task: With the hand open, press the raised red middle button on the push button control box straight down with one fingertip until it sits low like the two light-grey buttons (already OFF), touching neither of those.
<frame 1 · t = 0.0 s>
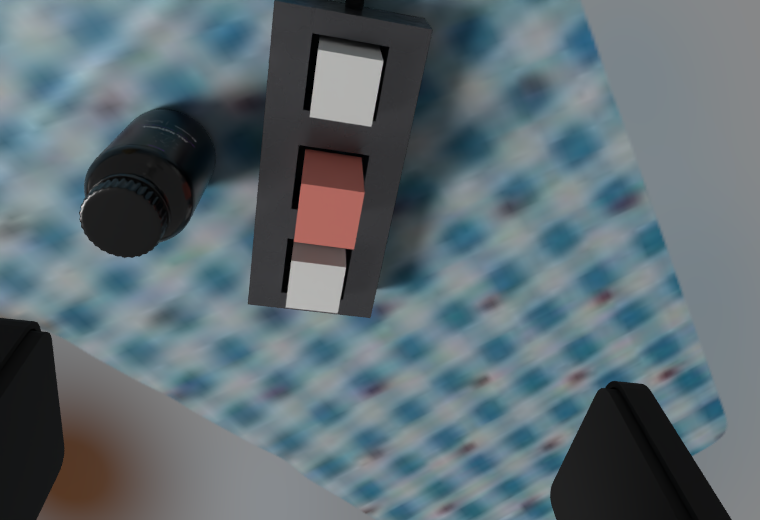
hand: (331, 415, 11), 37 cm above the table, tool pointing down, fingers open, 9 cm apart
button 2: (329, 197, 42), point 7 cm above the table, slide at 0.0 cm
push button control box: (330, 161, 47), on the table
button 3: (316, 266, 48), point 4 cm above the table, slide at 3.0 cm
button 1: (345, 77, 40), point 4 cm above the table, slide at 3.0 cm
supplement bottle: (171, 149, 46), on the table
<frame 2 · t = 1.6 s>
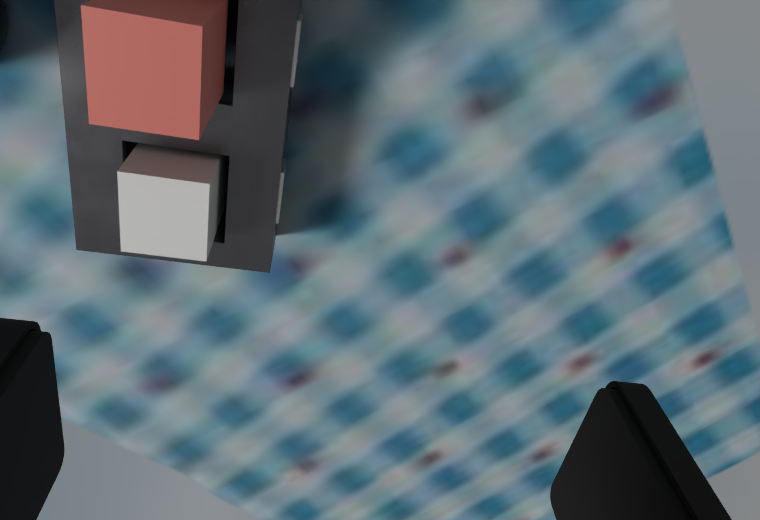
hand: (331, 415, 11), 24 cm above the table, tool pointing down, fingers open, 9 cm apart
button 2: (163, 55, 24), point 6 cm above the table, slide at 0.0 cm
push button control box: (195, 22, 30), on the table
button 3: (178, 190, 31), point 3 cm above the table, slide at 3.0 cm
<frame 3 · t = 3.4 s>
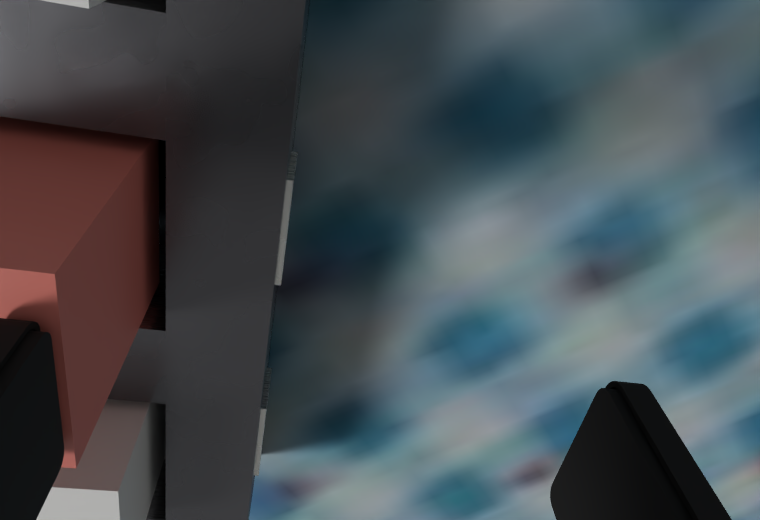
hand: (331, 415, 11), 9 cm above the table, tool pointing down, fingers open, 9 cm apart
button 2: (17, 267, 12), point 6 cm above the table, slide at 1.0 cm, touching gripper
push button control box: (107, 160, 17), on the table
button 3: (80, 445, 18), point 3 cm above the table, slide at 3.0 cm
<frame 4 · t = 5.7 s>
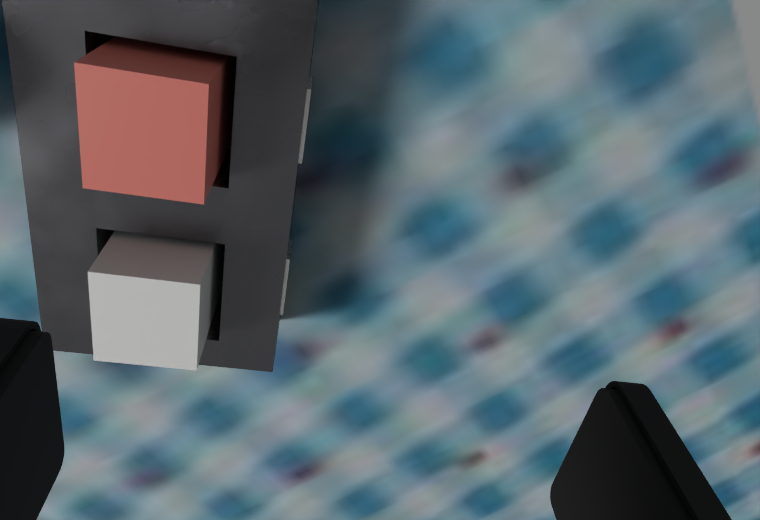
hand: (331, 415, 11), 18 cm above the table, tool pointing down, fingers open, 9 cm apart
button 2: (165, 110, 22), point 3 cm above the table, slide at 3.1 cm
push button control box: (185, 85, 25), on the table
button 3: (164, 281, 26), point 3 cm above the table, slide at 3.0 cm
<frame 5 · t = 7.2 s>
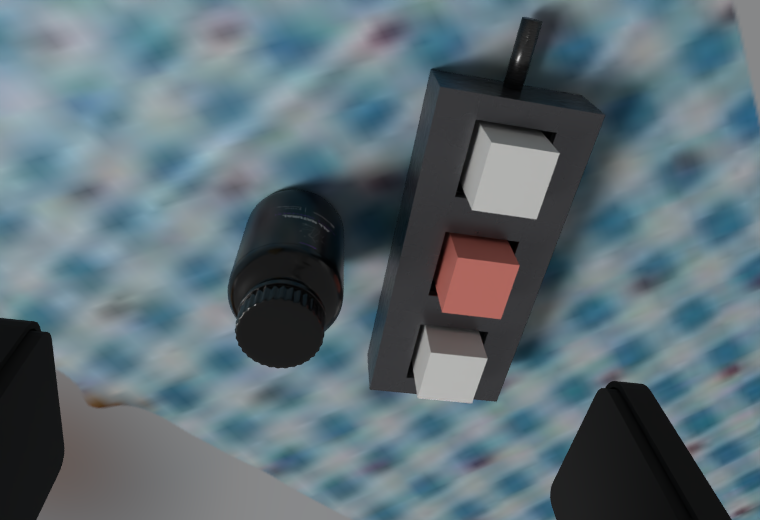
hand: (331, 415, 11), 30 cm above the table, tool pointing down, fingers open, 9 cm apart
button 2: (471, 264, 41), point 3 cm above the table, slide at 3.1 cm
push button control box: (462, 240, 44), on the table
button 3: (445, 350, 45), point 3 cm above the table, slide at 3.0 cm
button 1: (502, 162, 37), point 3 cm above the table, slide at 3.0 cm
supplement bottle: (295, 228, 43), on the table
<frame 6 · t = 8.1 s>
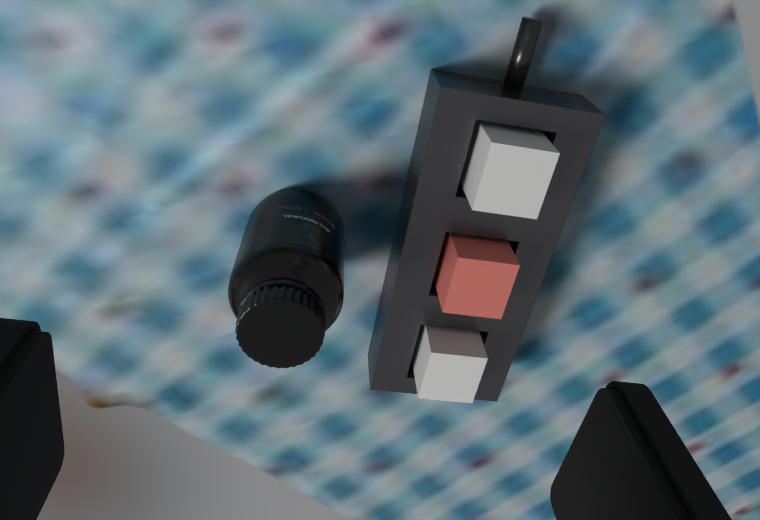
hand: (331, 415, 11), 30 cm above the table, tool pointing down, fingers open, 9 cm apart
button 2: (471, 264, 41), point 3 cm above the table, slide at 3.1 cm
push button control box: (462, 239, 44), on the table
button 3: (445, 350, 45), point 3 cm above the table, slide at 3.0 cm
button 1: (502, 162, 37), point 3 cm above the table, slide at 3.0 cm
supplement bottle: (295, 228, 43), on the table
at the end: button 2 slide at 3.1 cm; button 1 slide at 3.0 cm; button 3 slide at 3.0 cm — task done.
